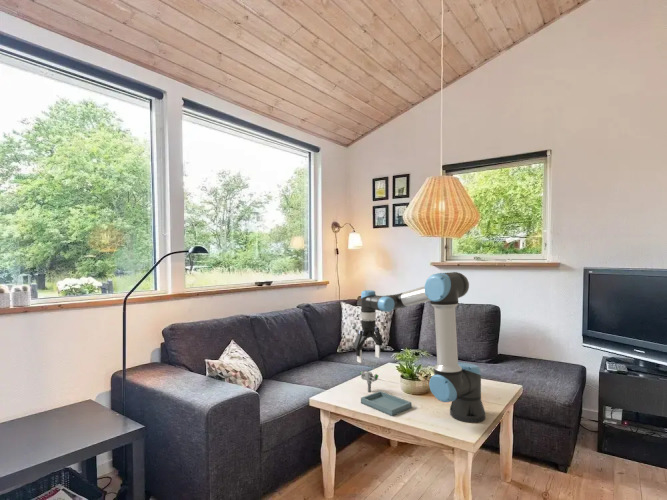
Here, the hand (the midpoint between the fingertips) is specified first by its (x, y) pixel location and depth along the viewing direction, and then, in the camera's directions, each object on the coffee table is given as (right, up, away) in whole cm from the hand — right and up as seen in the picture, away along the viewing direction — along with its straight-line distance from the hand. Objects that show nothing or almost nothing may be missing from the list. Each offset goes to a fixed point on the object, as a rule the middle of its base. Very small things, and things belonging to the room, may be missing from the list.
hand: (368, 359), depth 203 cm
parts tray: (+7, -17, -19) cm, 26 cm away
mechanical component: (0, -17, 0) cm, 17 cm away
